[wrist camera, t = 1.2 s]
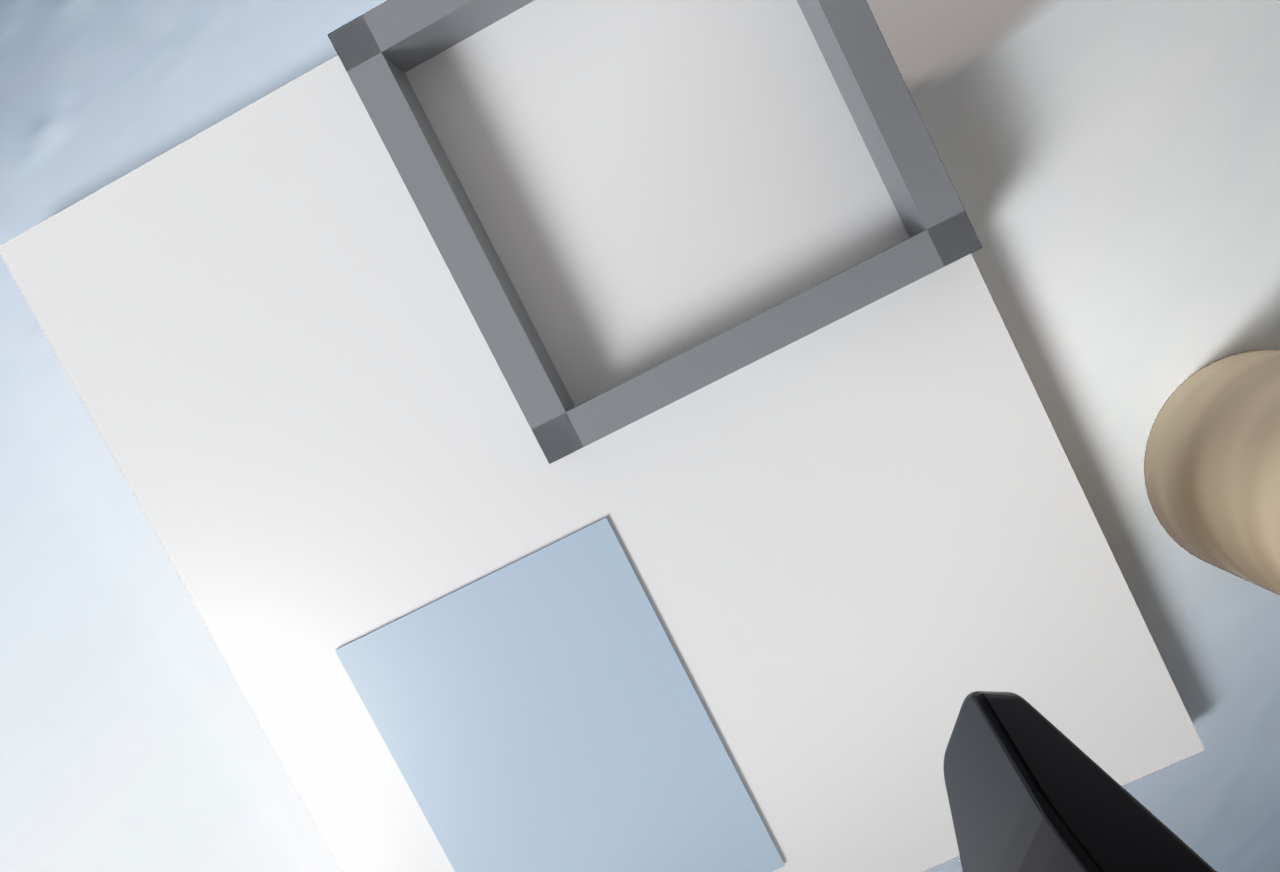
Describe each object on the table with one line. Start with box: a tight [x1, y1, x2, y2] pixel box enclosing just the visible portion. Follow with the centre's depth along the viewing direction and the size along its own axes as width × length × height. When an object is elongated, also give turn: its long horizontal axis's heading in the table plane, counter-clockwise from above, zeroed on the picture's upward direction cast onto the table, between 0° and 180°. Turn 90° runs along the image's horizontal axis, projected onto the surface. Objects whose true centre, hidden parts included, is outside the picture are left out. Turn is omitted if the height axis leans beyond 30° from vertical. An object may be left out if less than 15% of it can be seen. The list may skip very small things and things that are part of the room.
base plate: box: [0, 0, 1205, 872], centre depth 21 cm, size 22×19×2 cm
